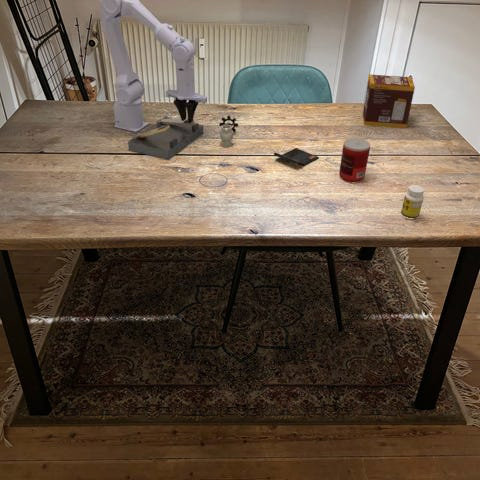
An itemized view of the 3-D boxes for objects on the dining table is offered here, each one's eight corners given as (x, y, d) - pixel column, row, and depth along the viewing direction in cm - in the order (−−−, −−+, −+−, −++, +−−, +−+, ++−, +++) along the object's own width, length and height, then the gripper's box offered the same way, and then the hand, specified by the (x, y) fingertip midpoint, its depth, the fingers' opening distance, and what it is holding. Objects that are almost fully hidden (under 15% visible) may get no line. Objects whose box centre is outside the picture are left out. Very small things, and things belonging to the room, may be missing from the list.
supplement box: (361, 114, 202) (368, 73, 193) (403, 117, 201) (411, 76, 192) (363, 125, 194) (370, 83, 185) (406, 128, 192) (415, 86, 183)
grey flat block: (128, 150, 172) (127, 136, 169) (166, 125, 189) (165, 112, 186) (168, 160, 167) (167, 146, 164) (203, 133, 184) (203, 120, 181)
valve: (235, 148, 175) (238, 133, 185) (236, 129, 171) (238, 115, 181) (215, 147, 175) (219, 132, 185) (215, 128, 172) (219, 114, 181)
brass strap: (137, 138, 172) (135, 135, 171) (142, 135, 174) (140, 132, 174) (165, 130, 165) (163, 127, 165) (170, 127, 167) (168, 124, 167)
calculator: (318, 159, 171) (319, 151, 169) (296, 171, 164) (297, 162, 162) (295, 150, 176) (296, 141, 174) (273, 161, 169) (273, 152, 167)
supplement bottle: (398, 210, 146) (404, 183, 141) (414, 210, 146) (421, 183, 141) (404, 220, 142) (410, 193, 137) (421, 219, 142) (428, 192, 137)
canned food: (366, 173, 163) (372, 140, 157) (362, 185, 157) (368, 151, 151) (341, 168, 165) (346, 136, 159) (336, 180, 159) (341, 146, 152)
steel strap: (160, 123, 182) (159, 120, 182) (164, 120, 184) (164, 117, 184) (190, 125, 177) (189, 122, 177) (194, 122, 179) (194, 119, 179)
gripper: (159, 80, 170) (162, 120, 178) (199, 87, 165) (200, 128, 173) (170, 74, 176) (173, 113, 183) (209, 81, 171) (210, 121, 178)
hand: (187, 120), depth 179 cm, fingers closed
